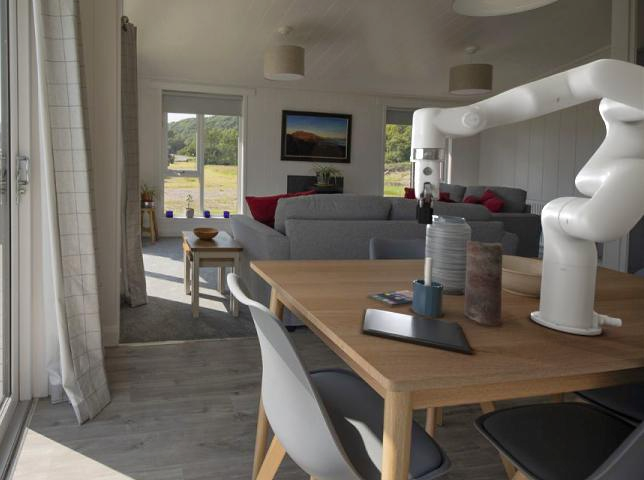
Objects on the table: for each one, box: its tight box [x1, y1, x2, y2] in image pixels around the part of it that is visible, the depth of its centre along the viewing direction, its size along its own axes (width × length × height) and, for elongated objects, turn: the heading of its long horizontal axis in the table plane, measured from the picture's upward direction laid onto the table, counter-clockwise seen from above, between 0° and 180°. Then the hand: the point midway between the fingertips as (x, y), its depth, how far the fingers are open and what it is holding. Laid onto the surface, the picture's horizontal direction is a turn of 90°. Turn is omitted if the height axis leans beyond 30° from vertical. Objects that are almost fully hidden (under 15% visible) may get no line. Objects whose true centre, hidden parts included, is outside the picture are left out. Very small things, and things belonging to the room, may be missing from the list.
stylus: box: [425, 258, 433, 286], centre depth 102 cm, size 2×2×14 cm
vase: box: [423, 215, 472, 296], centre depth 122 cm, size 12×12×23 cm
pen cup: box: [411, 278, 444, 317], centre depth 102 cm, size 7×7×8 cm
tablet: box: [362, 307, 472, 355], centre depth 91 cm, size 20×16×1 cm
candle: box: [464, 240, 504, 326], centre depth 97 cm, size 8×7×20 cm
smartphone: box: [368, 289, 413, 306], centre depth 112 cm, size 8×15×1 cm, turn 111°
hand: (423, 221), depth 102 cm, fingers open, 9 cm apart
